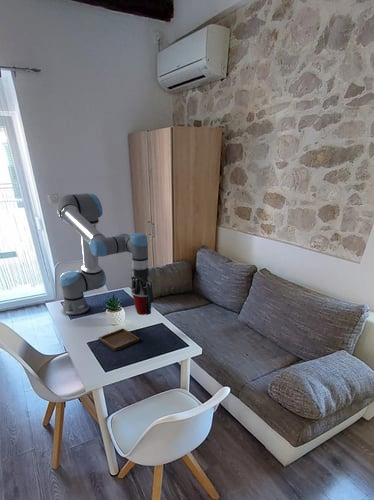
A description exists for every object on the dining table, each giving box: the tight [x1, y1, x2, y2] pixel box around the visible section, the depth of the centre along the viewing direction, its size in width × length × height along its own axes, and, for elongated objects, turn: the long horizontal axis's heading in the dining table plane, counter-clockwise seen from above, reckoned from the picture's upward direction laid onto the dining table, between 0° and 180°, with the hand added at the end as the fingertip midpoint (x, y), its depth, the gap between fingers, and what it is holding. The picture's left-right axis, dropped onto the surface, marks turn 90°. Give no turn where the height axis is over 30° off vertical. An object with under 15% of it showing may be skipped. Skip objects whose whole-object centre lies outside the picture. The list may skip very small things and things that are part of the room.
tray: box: [98, 328, 140, 352], centre depth 163 cm, size 15×15×2 cm
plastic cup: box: [130, 288, 148, 316], centre depth 160 cm, size 11×11×12 cm
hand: (143, 311), depth 162 cm, fingers closed on plastic cup, 8 cm apart
